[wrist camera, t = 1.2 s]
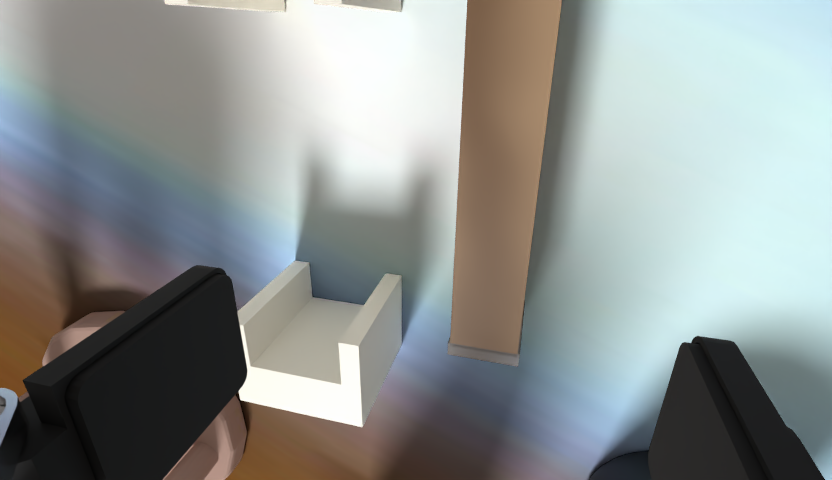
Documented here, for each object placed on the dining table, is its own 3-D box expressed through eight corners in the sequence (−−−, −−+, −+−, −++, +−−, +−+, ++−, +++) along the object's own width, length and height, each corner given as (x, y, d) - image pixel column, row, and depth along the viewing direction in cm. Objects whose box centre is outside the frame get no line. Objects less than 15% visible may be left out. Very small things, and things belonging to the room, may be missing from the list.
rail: (565, -20, 19) (569, -35, 15) (523, 310, 26) (518, 366, 22) (484, -19, 20) (466, -33, 16) (464, 301, 27) (447, 354, 23)
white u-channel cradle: (401, -120, 20) (331, -191, 13) (402, 344, 29) (362, 427, 23) (254, -110, 21) (132, -169, 15) (301, 327, 31) (240, 400, 25)
